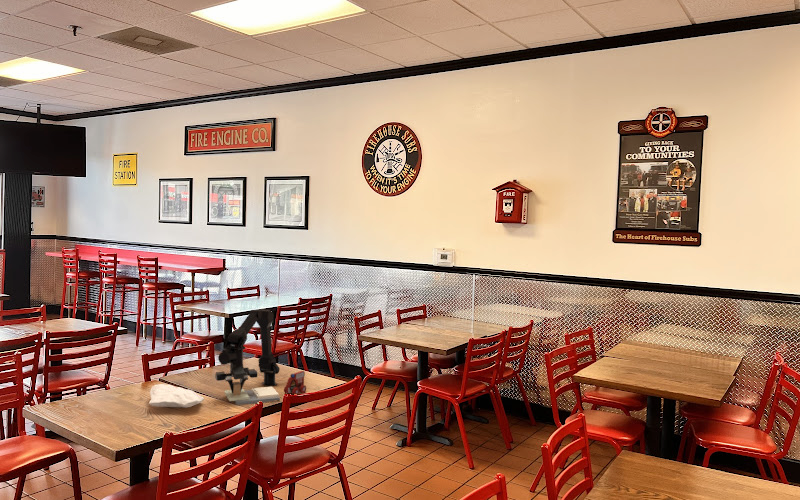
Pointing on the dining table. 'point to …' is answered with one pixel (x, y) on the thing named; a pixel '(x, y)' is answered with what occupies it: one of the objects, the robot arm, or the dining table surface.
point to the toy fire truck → (296, 383)
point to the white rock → (173, 396)
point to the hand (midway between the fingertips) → (236, 392)
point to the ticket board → (259, 395)
